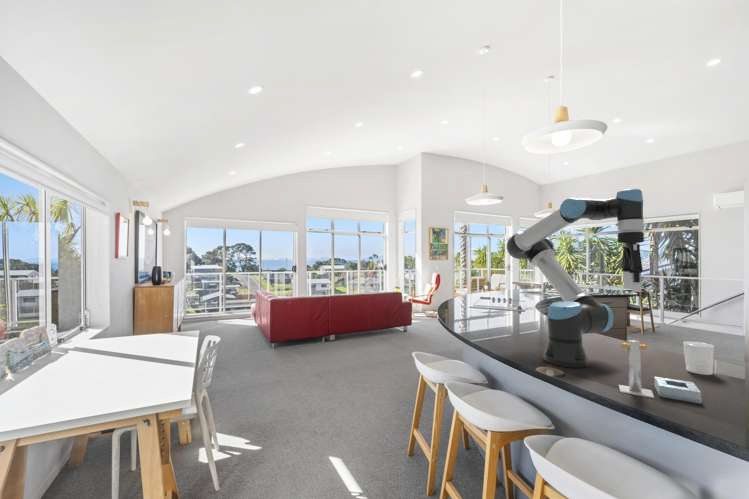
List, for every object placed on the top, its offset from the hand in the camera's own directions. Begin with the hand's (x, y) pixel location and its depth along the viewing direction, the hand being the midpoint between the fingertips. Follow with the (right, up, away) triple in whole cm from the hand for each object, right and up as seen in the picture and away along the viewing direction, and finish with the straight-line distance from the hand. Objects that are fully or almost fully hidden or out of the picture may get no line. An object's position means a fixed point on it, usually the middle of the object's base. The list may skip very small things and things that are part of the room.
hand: (632, 290), depth 118 cm
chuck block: (-3, -29, -20) cm, 35 cm away
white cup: (+24, -30, -1) cm, 38 cm away
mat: (-13, -29, -18) cm, 37 cm away
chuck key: (-13, -29, -18) cm, 36 cm away
